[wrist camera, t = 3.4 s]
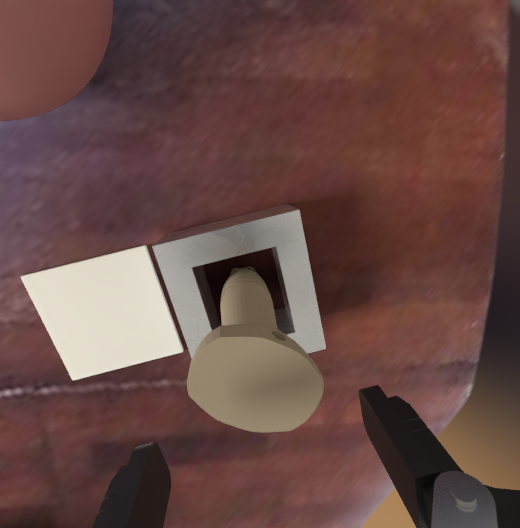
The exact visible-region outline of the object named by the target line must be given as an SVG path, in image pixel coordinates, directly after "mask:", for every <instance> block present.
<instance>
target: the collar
mask: <svg viewBox="0 0 520 528" xmlns="http://www.w3.org/2000/svg"><path fill="white" fill-rule="evenodd" d="M152 248H153V250H154V253H155V256H156V259H157V262H158V265H159V267H160V270H161V273H162V276H163V279H164V282H165V284H166V287H167V290H168V293H169V296H170V299H171V301H172V304H173V307H174V310H175V313H176V316H177V318H178V321H179V324H180V327H181V330H182V333H183V335H184V338H185V341H186V344H187V347H188V349H189V352H190V355H191V358H193V356H194V353H195V351H196V349H197V347H198V346H199V344H200V342H201V341H202V340H203V339H204V338H205V337H206V335H207V334H208V333H210V332H211V331H213V330H214V329H216V328H218V327H219V326H222V323H220V320H219V317H218V313H217V310H216V307H215V303H214V300H213V297H212V294H211V290H210V287H209V284H208V281H207V277H206V274H205V271H204V268H203V265H204V264H208V263H212V262H216V261H220V260H224V259H228V258H232V257H236V256H240V255H243V254H247V253H251V252H255V251H259V250H263V249H267V248H271V249H272V253H273V258H274V262H275V266H276V271H277V275H278V279H279V284H280V288H281V292H282V297H283V301H284V306H285V307H283V308H279V309H276V310H274V313H275V318H276V324H277V328H278V330H279V331H281V332H283V333H285V334H286V335H287V336H289V337H290V338H291V339H293V340H294V341H295V342H296V343H298V344H299V345H300V346H301V347H302V349H303V350H304V351H305V352H306V353H311V352H315V351H319V350H323V349H326V345H325V340H324V335H323V329H322V324H321V319H320V314H319V309H318V303H317V298H316V293H315V288H314V283H313V277H312V272H311V267H310V262H309V257H308V251H307V246H306V241H305V236H304V231H303V225H302V220H301V215H300V210H299V209H297V208H295V207H293V206H291V205H289V204H284V205H280V206H276V207H272V208H268V209H264V210H260V211H256V212H252V213H248V214H244V215H240V216H236V217H232V218H228V219H224V220H220V221H216V222H212V223H208V224H204V225H200V226H196V227H192V228H188V229H184V230H180V231H176V232H172V233H168V234H166V235H164V236H163V237H162V238H161V239H160V240H159V241H158V242H156V243H155V244H154V245H153V246H152Z"/></svg>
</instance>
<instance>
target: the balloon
mask: <svg viewBox="0 0 520 528" xmlns="http://www.w3.org/2000/svg"><path fill="white" fill-rule="evenodd" d="M112 20H113V0H0V121H10V120H18V119H24V118H29V117H33V116H37V115H40V114H43V113H46V112H49V111H51V110H53V109H55V108H57V107H59V106H61V105H63V104H65V103H66V102H68V101H69V100H71V99H72V98H73V97H75V96H76V95H77V94H78V93H79V92H80V91H81V90H82V89H83V88H84V87H85V86H86V85H87V84H88V83H89V81H90V80H91V79H92V77H93V76H94V74H95V73H96V71H97V70H98V68H99V66H100V64H101V62H102V60H103V57H104V55H105V52H106V49H107V46H108V43H109V39H110V34H111V28H112Z"/></svg>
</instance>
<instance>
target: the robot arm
mask: <svg viewBox="0 0 520 528" xmlns="http://www.w3.org/2000/svg"><path fill="white" fill-rule="evenodd" d="M359 398H360V404H361V410H362V416H363V422H364V425H365V428H366V431H367V434H368V436H369V438H370V440H371V442H372V444H373V446H374V448H375V450H376V452H377V453H378V455H379V457H380V459H381V461H382V463H383V465H384V467H385V469H386V470H387V472H388V474H389V476H390V478H391V480H392V482H393V484H394V486H395V488H396V489H397V491H398V493H399V495H400V497H401V499H402V501H403V503H404V505H405V507H406V508H407V510H408V512H409V514H410V516H411V518H412V519H413V522H414V524H415V525H416V527H417V528H520V490H510V489H498V488H493V487H489V486H486V485H484V484H482V483H481V482H480V481H479V480H477V479H476V478H474V477H472V476H470V475H469V474H466V473H464V472H463V471H462V470H461V469H460V468H459V466H458V465H457V464H456V463H455V461H454V460H453V459H452V457H451V456H450V455H449V454H448V452H447V451H446V450H445V449H444V447H443V446H442V445H441V443H440V442H439V441H438V440H437V438H436V437H435V436H434V435H433V433H432V432H431V431H430V429H429V428H427V426H426V424H425V423H424V422H423V421H422V419H420V418H419V415H418V414H417V413H416V412H415V410H414V409H413V408H412V407H411V405H410V404H408V403H407V402H405V401H404V400H402V399H401V398H399V397H398V396H394V397H390V398H387V396H386V395H385V393H384V392H383V391H382V389H381V388H380V387H379V386H378V385H376V386H372V387H368V388H364V389H360V390H359ZM170 490H171V476H170V471H169V468H168V466H167V464H166V461H165V459H164V457H163V454H162V452H161V450H160V447H159V445H158V444H157V443H156V442H153V443H150V444H146V445H142V446H138V447H135V448H134V450H133V452H132V455H131V457H130V460H129V463H128V465H126V466H122V467H121V468H120V470H119V471H118V472H117V474H116V475H115V477H114V478H113V479H112V481H111V482H110V485H109V487H108V490H107V492H106V495H105V497H104V501H103V502H102V505H101V507H100V510H99V514H98V515H97V517H96V520H95V522H94V525H93V527H92V528H163V525H164V520H165V515H166V510H167V505H168V500H169V495H170Z"/></svg>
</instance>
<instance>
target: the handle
mask: <svg viewBox="0 0 520 528" xmlns="http://www.w3.org/2000/svg"><path fill="white" fill-rule="evenodd" d="M220 308H221V321H222V326H219V327H218V328H216V329H214V330H213V331H211V332H210V333H208V334H207V335H206V337H205V338H204V339H203V340H202V341H201V342H200V344H199V346H198V347H197V349H196V351H195V353H194V356H193V358H192V361H191V365H190V369H189V374H188V379H187V389H188V394H189V396H190V397H191V398H192V399H193V400H194V401H195V402H196V403H197V404H198V405H199V406H200V407H201V408H202V409H203V410H205V411H206V412H207V413H208V414H209V415H211V416H212V417H213V418H215V419H216V420H219V421H221V422H223V423H225V424H228V425H231V426H234V427H237V428H240V429H243V430H247V431H252V432H281V431H291V430H293V429H295V428H297V427H298V426H300V425H301V424H303V423H304V422H305V421H306V420H307V419H308V418H309V417H310V416H311V415H312V413H313V412H314V411H315V409H316V408H317V406H318V404H319V402H320V400H321V397H322V394H323V388H324V383H323V377H322V375H321V373H320V371H319V369H318V367H317V366H316V364H315V363H314V362H313V360H312V359H311V358H310V357H309V355H308V354H307V353H306V352H305V351H304V350H303V349H302V347H301V346H300V345H299V344H298V343H296V342H295V341H294V340H293V339H291V338H290V337H289V336H287V335H286V334H285V333H283V332H281V331H279V330H278V328H277V324H276V318H275V313H274V307H273V302H272V298H271V295H270V292H269V290H268V288H267V286H266V284H265V282H264V281H263V279H262V278H261V277H260V276H259V275H258V274H257V273H256V271H255V269H254V268H252V267H250V266H247V267H245V268H236V267H235V268H233V269H232V270H231V274H230V276H229V277H228V278H227V280H226V282H225V284H224V287H223V290H222V294H221V305H220Z"/></svg>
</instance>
